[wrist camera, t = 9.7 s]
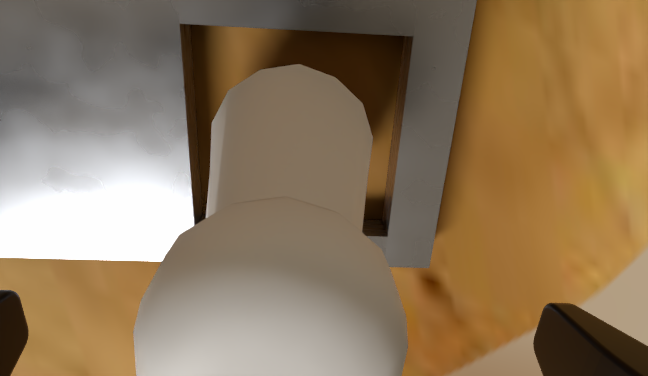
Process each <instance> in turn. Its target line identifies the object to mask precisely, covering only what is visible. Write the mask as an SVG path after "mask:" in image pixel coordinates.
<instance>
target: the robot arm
mask: <svg viewBox="0 0 648 376" xmlns="http://www.w3.org/2000/svg"><path fill="white" fill-rule="evenodd" d="M27 340H28V326H27V322H26V319H25V315H24V311H23V308H22V304H21V300H20V297H19V295H18V294H17V293H16V292H14V291H11V290H0V376H10V375H11V373H12V371H13V369H14V367H15V365H16V363H17V361H18V359H19V357H20V355H21V353H22V351H23V349H24V347H25V345H26V343H27ZM533 344H534V351H535V354H536V357H537V360H538V363H539V365H540V368H541V371H542V373H543V376H648V346H646V345H644V344H643V343H641V342H639V341H638V340H636V339H634V338H632V337H630V336H628V335H627V334H625V333H623V332H622V331H620V330H618V329H616V328H614V327H613V326H611V325H609V324H607V323H606V322H604V321H602V320H600V319H598V318H597V317H595V316H593V315H591V314H590V313H588V312H586V311H584V310H582V309H581V308H579V307H577V306H575V305H573V304H570V303H549V304H547V305H546V306H545V307H544V309H543V311H542V315H541V318H540V321H539V324H538V327H537V330H536V334H535V337H534V343H533Z"/></svg>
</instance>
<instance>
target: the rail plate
mask: <svg viewBox="0 0 648 376" xmlns="http://www.w3.org/2000/svg"><path fill="white" fill-rule="evenodd" d="M476 2H477V0H0V257H5V258H45V259H86V260H127V261H163V259H164V257H165V255H166V253H167V252H168V250H169V249H170V247H171V246H172V244H173V243H174V241H175V240H176V238H177V237H178V235H179V234H181V233H183V232H184V231H186V230H188V229H189V228H191V227H193V226H194V225H196V224H198V223H199V222H201V221H203V220H204V219H206V215H203V213H202V197H201V182H200V166H199V150H198V135H197V119H196V104H195V88H194V72H193V57H192V41H191V25H190V24H194V25H212V26H231V27H249V28H267V29H286V30H304V31H322V32H340V33H359V34H377V35H395V36H404V42H403V51H402V59H401V67H400V75H399V84H398V92H397V100H396V108H395V117H394V125H393V133H392V141H391V150H390V158H389V166H388V174H387V183H386V191H385V199H384V207H383V216H382V220H366V219H363V228H362V233H363V234H364V235H365V236H367V237H368V238H369V239H370V240H371V241H372V242H374V243H375V244H376V245H377V246H378V247H379V248H381V249H382V251H383V254H384V256H385V258H386V261H387V263H388V265H389V267H414V268H429V265H430V260H431V254H432V249H433V243H434V237H435V232H436V226H437V221H438V215H439V210H440V204H441V198H442V193H443V187H444V182H445V176H446V170H447V165H448V159H449V154H450V148H451V142H452V137H453V131H454V126H455V120H456V114H457V109H458V103H459V98H460V92H461V86H462V81H463V75H464V70H465V64H466V58H467V53H468V47H469V42H470V36H471V30H472V25H473V19H474V14H475V8H476Z"/></svg>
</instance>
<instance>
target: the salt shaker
mask: <svg viewBox="0 0 648 376" xmlns="http://www.w3.org/2000/svg"><path fill="white" fill-rule="evenodd" d="M372 142H373V136H372V133H371V129H370V126H369V123H368V119H367V116H366V113H365V109H364V106H363V103H362V102H361V101H360V100H359V99H358V98H357V97H355V96H354V95H353V94H352V93H351V92H350V91H349V90H348V89H347V88H346V87H345V86H344V85H343V84H342V83H341V82H340V81H339V80H338V79H337V78H336V77H333V76H330V75H328V74H325V73H322V72H320V71H317V70H314V69H312V68H309V67H306V66H304V65H301V64H295V65H288V66H282V67H275V68H268V69H262V70H259V71H257V72H256V73H254V74H253V75H251V76H250V77H248V78H247V79H245V80H244V81H242V82H241V83H239V84H237V85H236V86H234V87H233V88H231V89H230V90H228V92H227V94H226V96H225V98H224V100H223V102H222V104H221V106H220V108H219V110H218V112H217V114H216V116H215V118H214V119H213V121H212V127H211V155H210V176H209V187H208V198H207V209H206V219H204V220H203V221H201V222H199V223H198V224H196V225H194V226H193V227H191V228H189V229H188V230H186V231H184V232H183V233H181V234H179V235H178V237H177V238H176V240H175V241H174V243H173V244H172V246H171V247H170V249H169V250H168V252H167V253H166V255H165V257H164V259H163V261H162V262H161V264H160V266H159V268H158V270H157V272H156V274H155V275H154V277H153V279H152V281H151V283H150V285H149V287H148V288H147V290H146V292H145V294H144V296H143V298H142V300H141V303H140V307H139V311H138V315H137V319H136V323H135V327H134V331H133V333H134V348H135V362H136V376H401V375H402V371H403V366H404V362H405V357H406V353H407V348H408V340H407V322H406V314H405V311H404V308H403V305H402V303H401V300H400V297H399V294H398V291H397V288H396V285H395V282H394V279H393V276H392V273H391V270H390V268H389V265H388V263H387V261H386V258H385V256H384V254H383V251H382V249H381V248H379V247H378V246H377V245H376V244H375V243H374V242H372V241H371V240H370V239H369V238H368V237H367V236H365V235H364V234H363V233H362V228H363V219H364V209H365V200H366V190H367V181H368V171H369V164H370V157H371V150H372Z"/></svg>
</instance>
